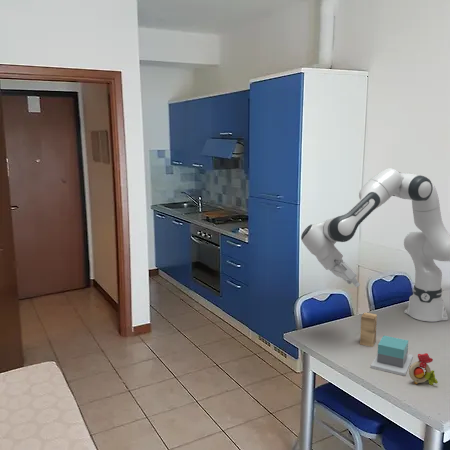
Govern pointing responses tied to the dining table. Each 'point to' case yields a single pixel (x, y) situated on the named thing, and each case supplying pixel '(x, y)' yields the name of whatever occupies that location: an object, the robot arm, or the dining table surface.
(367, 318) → the oak brick
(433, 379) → the bird rattle
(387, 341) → the brick tower
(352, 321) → the dining table surface
